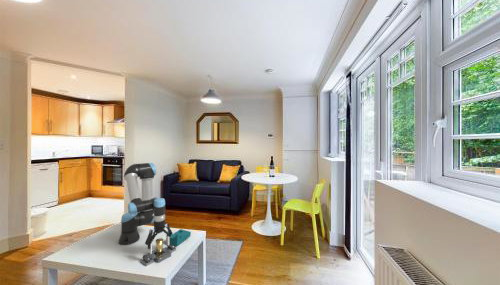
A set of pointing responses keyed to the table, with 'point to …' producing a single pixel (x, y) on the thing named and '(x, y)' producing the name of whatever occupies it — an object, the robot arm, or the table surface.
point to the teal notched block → (179, 237)
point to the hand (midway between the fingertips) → (159, 248)
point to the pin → (159, 246)
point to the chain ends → (154, 257)
